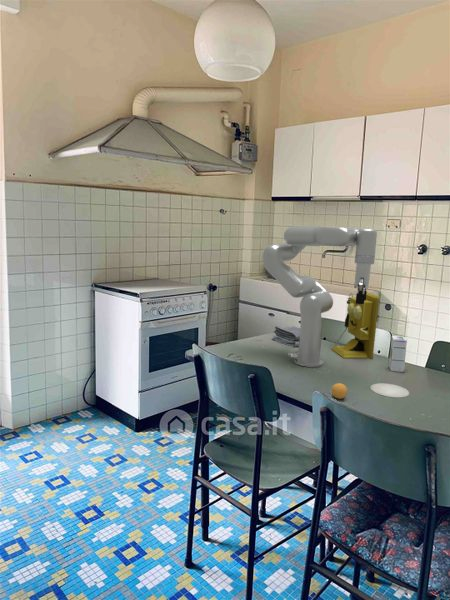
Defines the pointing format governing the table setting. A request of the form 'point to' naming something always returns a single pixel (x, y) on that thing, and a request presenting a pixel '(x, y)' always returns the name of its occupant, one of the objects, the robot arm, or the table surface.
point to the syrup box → (397, 353)
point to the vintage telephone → (360, 328)
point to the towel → (287, 335)
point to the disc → (389, 390)
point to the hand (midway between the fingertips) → (360, 301)
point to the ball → (339, 391)
